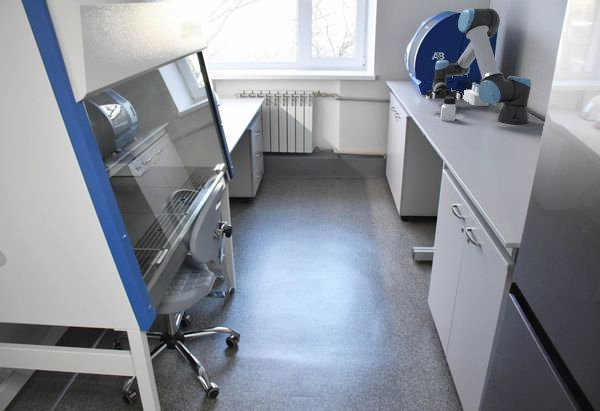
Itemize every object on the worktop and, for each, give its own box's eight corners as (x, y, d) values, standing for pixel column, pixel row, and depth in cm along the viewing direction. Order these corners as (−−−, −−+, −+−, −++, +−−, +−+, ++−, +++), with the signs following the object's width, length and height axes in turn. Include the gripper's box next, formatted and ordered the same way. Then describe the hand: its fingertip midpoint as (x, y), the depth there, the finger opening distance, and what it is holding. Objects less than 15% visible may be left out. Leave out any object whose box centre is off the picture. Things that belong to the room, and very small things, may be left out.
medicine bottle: (454, 121, 262) (457, 98, 258) (441, 120, 264) (443, 98, 259) (453, 118, 269) (456, 96, 264) (440, 117, 270) (442, 95, 265)
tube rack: (488, 105, 299) (491, 87, 295) (473, 105, 299) (476, 87, 295) (476, 98, 319) (478, 81, 315) (462, 99, 319) (464, 81, 315)
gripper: (462, 96, 291) (468, 104, 272) (419, 95, 294) (423, 103, 274) (463, 84, 288) (470, 91, 268) (420, 83, 291) (424, 89, 271)
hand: (446, 97), depth 271 cm, fingers open, 13 cm apart
